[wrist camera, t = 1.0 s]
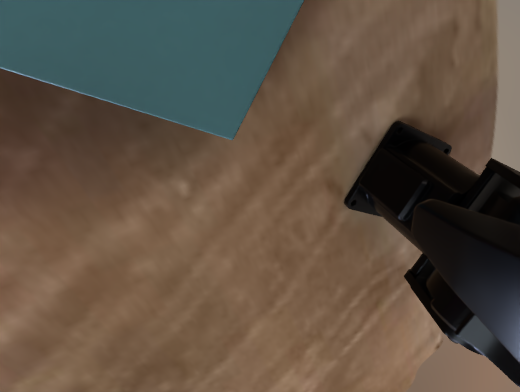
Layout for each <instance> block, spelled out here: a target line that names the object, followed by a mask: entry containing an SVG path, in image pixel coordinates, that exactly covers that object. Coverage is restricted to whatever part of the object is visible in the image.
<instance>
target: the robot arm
mask: <svg viewBox="0 0 520 392" xmlns="http://www.w3.org/2000/svg"><path fill="white" fill-rule="evenodd" d="M451 149H452V148H451V146H450V145H449V144H447V143H446V142H443V141H441V140H439V139H437V138H435V137H433V136H431V135H429V134H427V133H424V132H422V131H420V130H418V129H416V128H414V127H412V126H410V125H408V124H406V123H403V122H401V121H397V122H395V123H394V124H393V125H392V126H391V128H390V129H389V131H388V132H387V134H386V135H385V137H384V139H383V140H382V142H381V143H380V145H379V146H378V148H377V150H376V151H375V153H374V154H373V156H372V157H371V159H370V161H369V162H368V164H367V165H366V167H365V168H364V170H363V172H362V173H361V175H360V176H359V178H358V179H357V181H356V183H355V184H354V186H353V187H352V189H351V191H350V192H349V194H348V195H347V197H346V198H345V201H344V204H345V205H346V206H347V207H348V208H349V209H352V210H356V211H360V212H365V213H369V214H373V215H377V216H381V217H384V218H385V219H386V220H387V221H388V222H389V223H390V224H391V225H392V226H394V227H395V228H396V229H397V230H398V231H399V232H400V233H401V234H402V235H404V236H405V237H406V238H407V239H408V240H409V241H410V242H411V243H412V244H414V245H415V246H416V247H417V248H418V249H419V250H420V251H421V252H422V255H421V256H420V257H419V259H418V260H417V262H416V263H415V264H414V266H413V267H412V268H411V269H409V270H408V271H407V273H406V274H405V275H404V277H405V279H406V280H407V282H408V283H409V284H410V286H411V289H412V290H413V291H414V293H415V294H416V296H417V297H418V298H419V300H420V301H421V302H422V304H423V305H424V307H425V308H426V309H427V311H428V312H429V314H430V315H431V316H432V318H433V319H434V321H435V322H436V323H437V325H438V326H439V327H440V329H441V330H442V332H443V333H444V334H446V335H447V336H448V338H449V339H450V340H451V341H452V342H454V343H459V344H461V345H463V346H464V347H466V348H467V349H469V350H471V351H473V352H475V353H477V354H480V355H484V356H486V357H487V358H488V359H489V360H490V361H492V362H493V363H494V364H495V365H496V366H497V367H498V368H499V369H500V370H502V371H503V373H504V374H505V375H507V376H508V377H509V378H510V379H511V380H512V381H513V382H514V383H515V384H516V385H517V386H519V387H520V172H519V171H517V170H515V169H513V168H511V167H509V166H507V165H504V164H503V163H500V162H498V161H496V160H494V159H492V158H491V159H490V160H489V161H488V163H487V164H486V165H485V166H486V168H485V170H484V171H483V172H482V174H481V175H480V176H479V175H478V174H476V173H475V172H473V171H472V170H470V169H468V168H467V167H465V166H464V165H462V164H461V163H459V162H458V161H456V160H455V159H453V158H451V157H450V156H448V155H449V153H450V152H451Z"/></svg>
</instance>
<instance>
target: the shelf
mask: <svg viewBox="0 0 520 392" xmlns="http://www.w3.org/2000/svg"><path fill="white" fill-rule="evenodd" d="M303 2H304V0H0V68H1V69H4V70H7V71H11V72H14V73H17V74H20V75H24V76H27V77H30V78H33V79H37V80H40V81H43V82H46V83H49V84H53V85H56V86H59V87H62V88H66V89H69V90H72V91H75V92H78V93H82V94H85V95H88V96H91V97H95V98H98V99H101V100H104V101H107V102H111V103H114V104H117V105H120V106H124V107H127V108H130V109H133V110H136V111H140V112H143V113H146V114H149V115H153V116H156V117H159V118H162V119H165V120H169V121H172V122H175V123H178V124H182V125H185V126H188V127H191V128H195V129H198V130H201V131H204V132H207V133H211V134H214V135H217V136H220V137H224V138H227V139H230V140H233V139H234V137H235V135H236V133H237V131H238V129H239V127H240V125H241V123H242V121H243V119H244V117H245V115H246V113H247V111H248V110H249V108H250V106H251V104H252V102H253V100H254V98H255V96H256V94H257V92H258V90H259V88H260V86H261V84H262V82H263V80H264V78H265V76H266V74H267V72H268V70H269V68H270V66H271V64H272V62H273V60H274V59H275V57H276V55H277V53H278V51H279V49H280V47H281V45H282V43H283V41H284V39H285V37H286V35H287V33H288V31H289V29H290V27H291V25H292V23H293V21H294V19H295V17H296V15H297V13H298V11H299V9H300V8H301V6H302V4H303Z"/></svg>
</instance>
